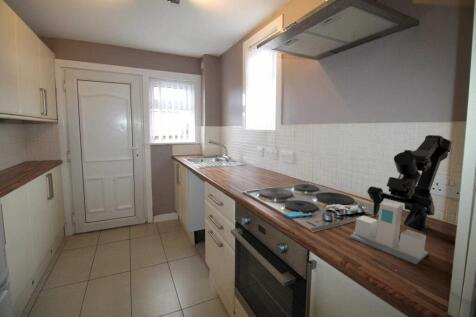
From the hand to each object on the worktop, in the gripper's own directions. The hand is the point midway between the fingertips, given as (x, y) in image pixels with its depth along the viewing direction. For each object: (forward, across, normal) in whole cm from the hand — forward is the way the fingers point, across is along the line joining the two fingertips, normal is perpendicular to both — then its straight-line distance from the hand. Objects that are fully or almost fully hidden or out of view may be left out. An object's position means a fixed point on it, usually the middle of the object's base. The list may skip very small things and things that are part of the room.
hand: (388, 220), depth 79 cm
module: (+5, 0, +6) cm, 8 cm away
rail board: (+6, 0, +7) cm, 9 cm away
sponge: (+9, -34, +4) cm, 36 cm away
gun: (-7, -25, +20) cm, 33 cm away
